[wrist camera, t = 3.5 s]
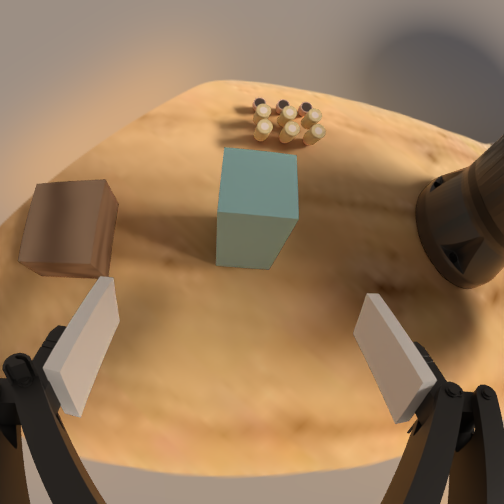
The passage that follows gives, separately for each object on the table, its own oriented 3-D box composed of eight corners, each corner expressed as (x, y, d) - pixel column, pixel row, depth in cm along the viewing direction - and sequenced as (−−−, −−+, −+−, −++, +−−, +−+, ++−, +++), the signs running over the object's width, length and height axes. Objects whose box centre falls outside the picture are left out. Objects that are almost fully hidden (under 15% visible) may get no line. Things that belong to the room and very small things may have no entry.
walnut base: (119, 204, 30) (105, 179, 25) (109, 279, 27) (90, 263, 23) (55, 206, 29) (36, 183, 24) (42, 276, 26) (17, 261, 22)
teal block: (270, 221, 31) (296, 155, 21) (268, 269, 29) (298, 219, 19) (219, 217, 30) (224, 147, 20) (215, 265, 29) (217, 211, 18)
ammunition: (327, 134, 30) (316, 87, 33) (257, 128, 29) (254, 81, 32) (315, 160, 35) (306, 113, 37) (252, 156, 34) (250, 108, 36)
